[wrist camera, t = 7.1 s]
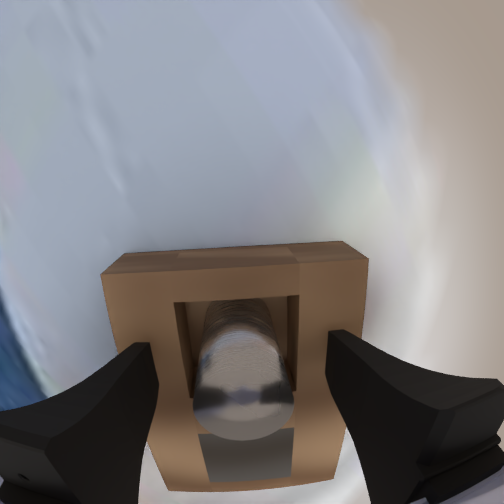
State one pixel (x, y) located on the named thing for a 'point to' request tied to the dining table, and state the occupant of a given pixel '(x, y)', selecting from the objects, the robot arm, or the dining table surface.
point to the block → (288, 336)
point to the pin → (241, 372)
